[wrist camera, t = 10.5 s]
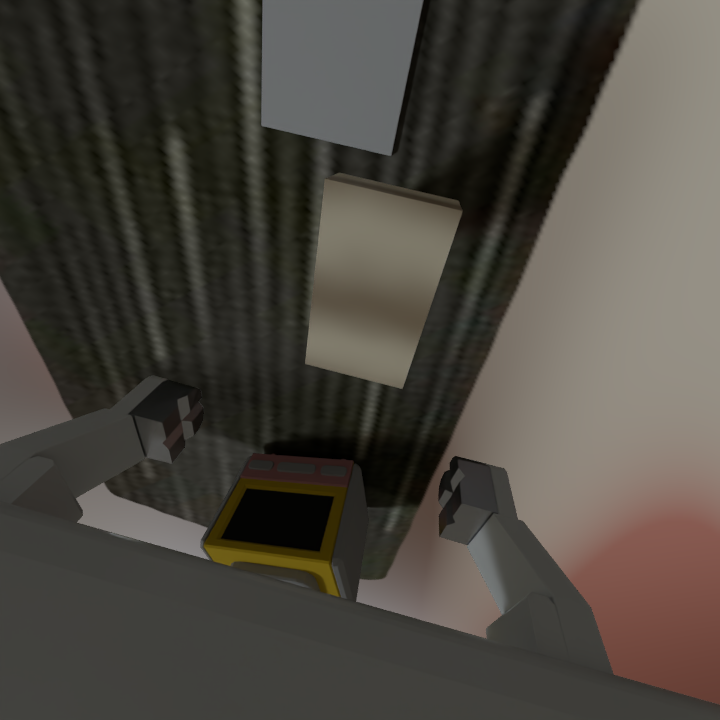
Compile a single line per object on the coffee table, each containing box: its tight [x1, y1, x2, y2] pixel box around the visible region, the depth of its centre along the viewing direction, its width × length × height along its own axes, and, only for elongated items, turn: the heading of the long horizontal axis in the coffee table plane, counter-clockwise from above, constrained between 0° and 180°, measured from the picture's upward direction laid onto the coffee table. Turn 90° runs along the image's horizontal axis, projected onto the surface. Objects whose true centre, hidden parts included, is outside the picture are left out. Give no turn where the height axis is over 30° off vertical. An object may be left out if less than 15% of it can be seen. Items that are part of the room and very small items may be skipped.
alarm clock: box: [201, 453, 369, 602], centre depth 51 cm, size 20×16×18 cm
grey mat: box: [261, 0, 424, 156], centre depth 26 cm, size 12×12×1 cm
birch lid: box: [305, 173, 463, 389], centre depth 20 cm, size 11×7×3 cm, turn 169°
